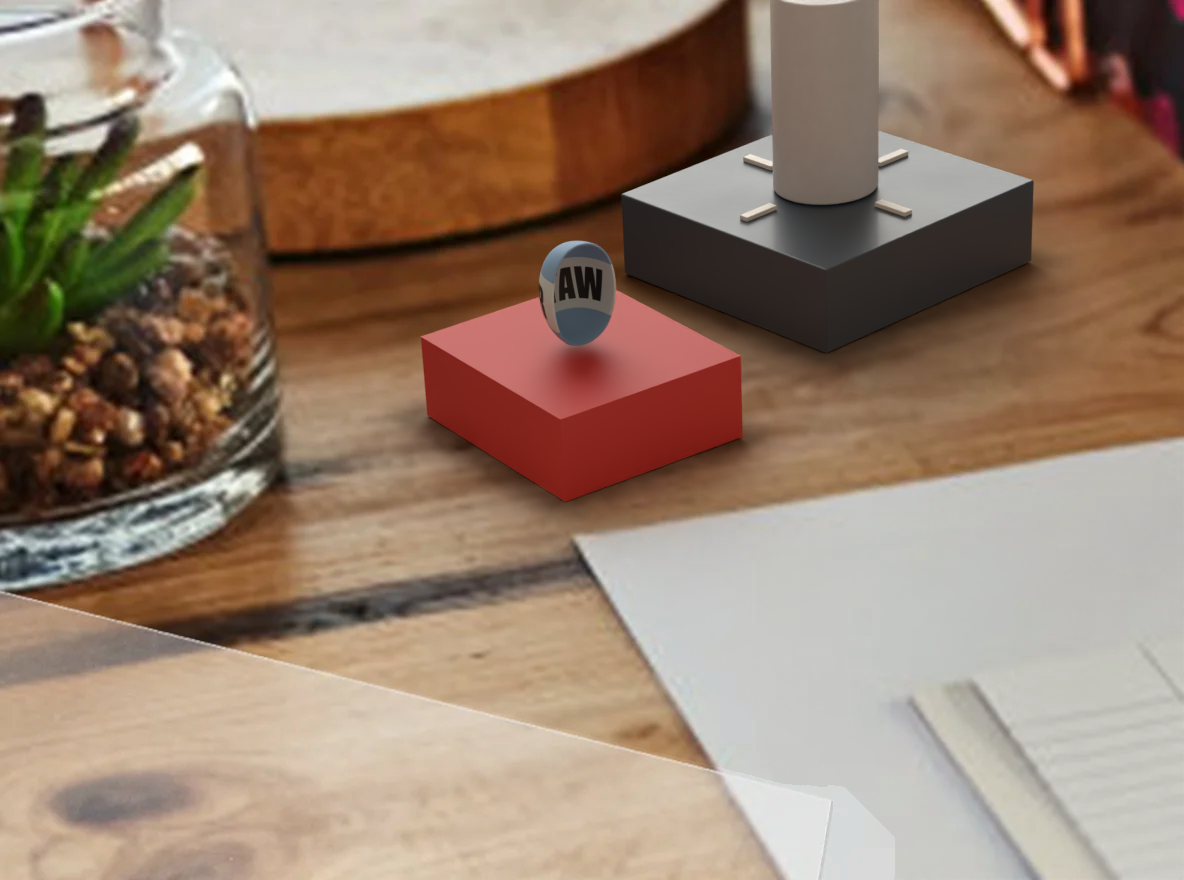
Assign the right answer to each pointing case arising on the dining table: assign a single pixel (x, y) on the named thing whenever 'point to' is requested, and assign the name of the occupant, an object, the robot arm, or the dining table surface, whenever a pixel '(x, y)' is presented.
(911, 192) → the base
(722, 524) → the dining table surface
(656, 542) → the dining table surface
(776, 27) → the cylinder
